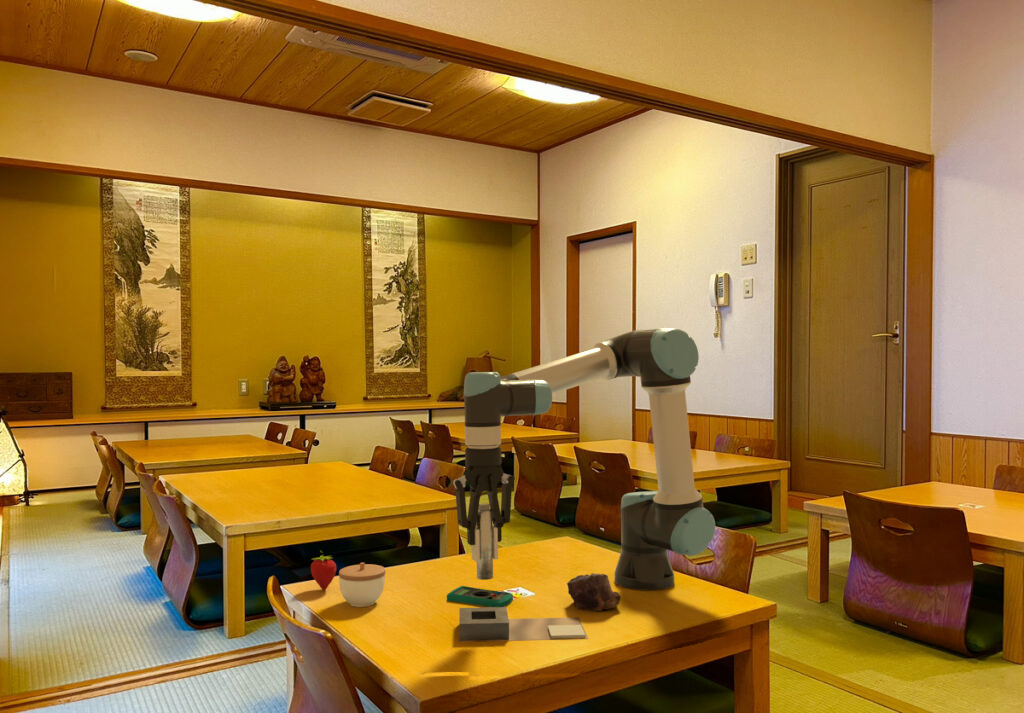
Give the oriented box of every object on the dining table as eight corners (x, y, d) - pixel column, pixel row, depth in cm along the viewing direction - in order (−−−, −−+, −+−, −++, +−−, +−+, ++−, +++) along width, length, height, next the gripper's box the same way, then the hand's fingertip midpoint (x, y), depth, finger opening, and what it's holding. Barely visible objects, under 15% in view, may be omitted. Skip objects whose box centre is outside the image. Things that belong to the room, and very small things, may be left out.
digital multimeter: (501, 613, 174) (501, 600, 174) (445, 604, 180) (445, 592, 180) (515, 604, 181) (515, 591, 181) (460, 596, 187) (460, 584, 187)
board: (578, 620, 168) (578, 617, 168) (588, 641, 155) (588, 638, 155) (459, 622, 166) (459, 620, 166) (459, 644, 154) (459, 641, 154)
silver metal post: (495, 578, 159) (494, 504, 159) (480, 580, 157) (479, 506, 157) (489, 574, 162) (488, 502, 162) (474, 576, 161) (473, 503, 161)
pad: (580, 627, 162) (580, 624, 162) (585, 637, 156) (585, 634, 156) (547, 628, 161) (547, 625, 161) (551, 638, 155) (551, 635, 155)
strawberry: (319, 595, 186) (319, 554, 186) (305, 589, 192) (305, 548, 192) (341, 591, 190) (341, 550, 190) (327, 584, 196) (327, 545, 196)
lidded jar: (394, 602, 181) (394, 562, 181) (356, 613, 173) (356, 571, 173) (367, 593, 188) (367, 555, 188) (329, 603, 180) (329, 563, 180)
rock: (587, 605, 182) (558, 614, 175) (583, 568, 183) (554, 575, 176) (626, 608, 174) (598, 618, 167) (622, 570, 175) (594, 577, 168)
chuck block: (506, 622, 165) (506, 607, 165) (509, 639, 155) (509, 622, 155) (459, 624, 164) (459, 608, 164) (459, 640, 154) (459, 623, 154)
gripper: (512, 442, 166) (513, 550, 166) (439, 446, 160) (441, 559, 160) (526, 445, 159) (528, 558, 159) (451, 450, 153) (453, 568, 153)
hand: (484, 558), depth 160 cm, fingers closed on silver metal post, 3 cm apart
